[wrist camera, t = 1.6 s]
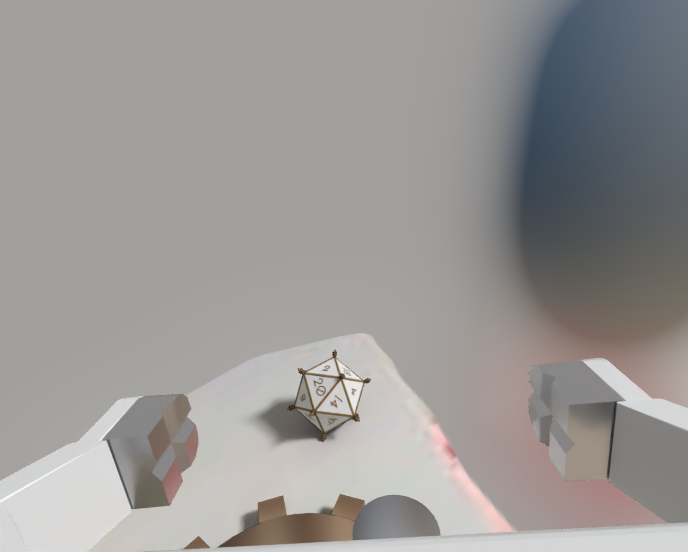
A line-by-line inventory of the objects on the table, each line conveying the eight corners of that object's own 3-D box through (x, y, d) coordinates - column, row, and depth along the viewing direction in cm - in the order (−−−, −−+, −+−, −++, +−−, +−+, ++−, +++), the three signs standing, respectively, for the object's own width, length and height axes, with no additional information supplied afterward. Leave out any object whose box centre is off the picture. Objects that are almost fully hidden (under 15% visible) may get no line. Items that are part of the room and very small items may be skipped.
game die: (351, 453, 46) (385, 421, 39) (279, 446, 44) (301, 411, 37) (349, 381, 52) (379, 342, 45) (285, 372, 50) (305, 330, 43)
